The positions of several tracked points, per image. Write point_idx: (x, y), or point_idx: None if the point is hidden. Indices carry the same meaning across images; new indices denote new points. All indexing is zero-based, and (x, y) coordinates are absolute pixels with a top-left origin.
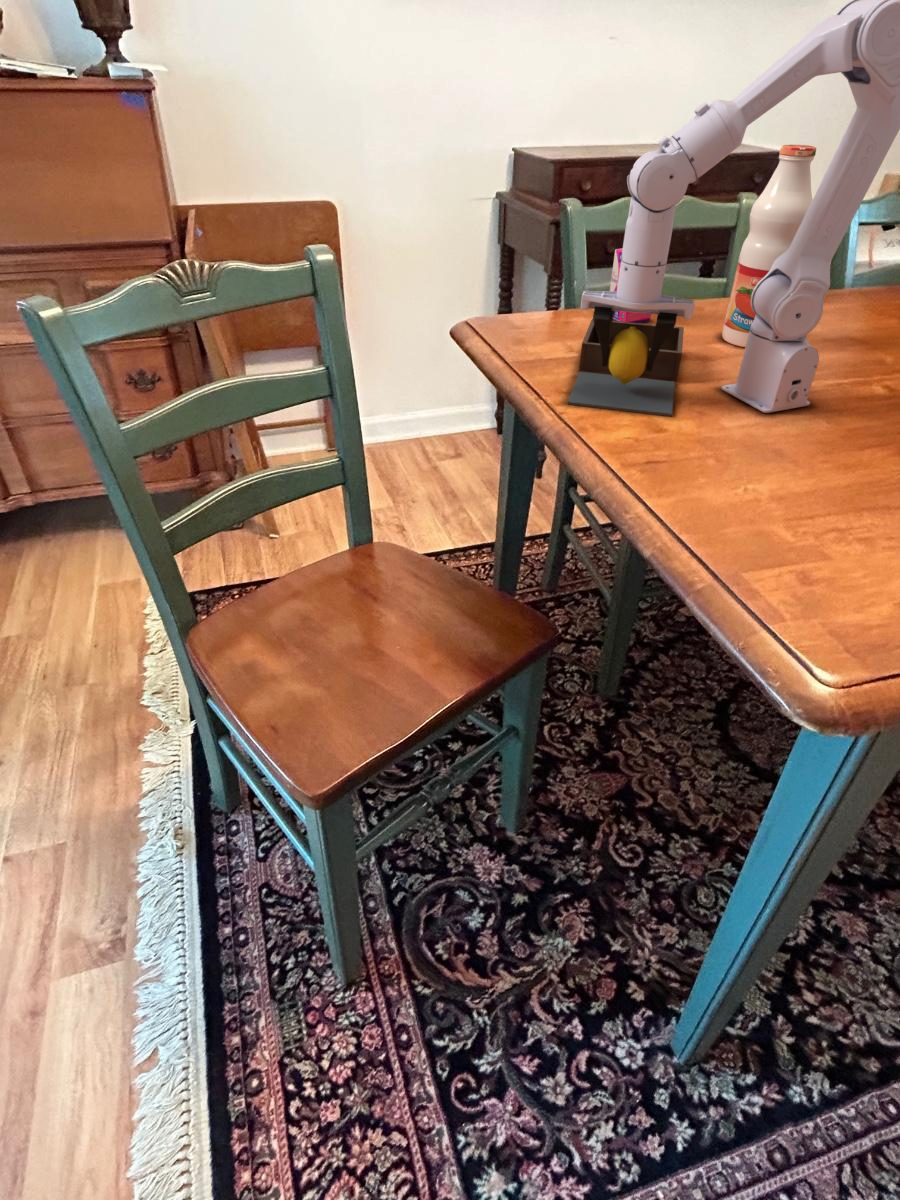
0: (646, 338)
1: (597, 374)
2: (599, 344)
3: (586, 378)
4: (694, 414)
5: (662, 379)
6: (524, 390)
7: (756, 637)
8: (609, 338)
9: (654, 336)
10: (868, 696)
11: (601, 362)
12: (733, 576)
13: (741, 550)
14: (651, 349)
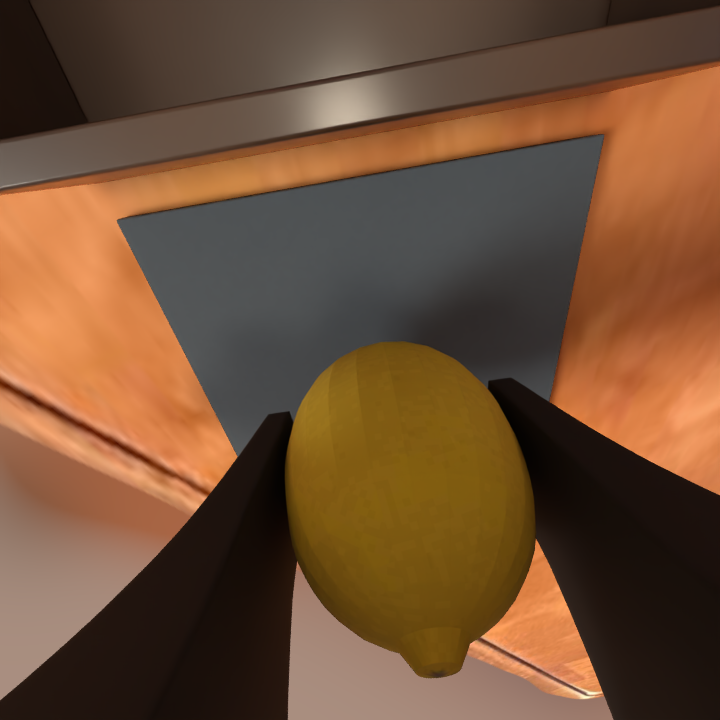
0: (531, 561)
1: (214, 220)
2: (81, 166)
3: (198, 294)
4: (608, 396)
5: (540, 103)
6: (83, 448)
7: (557, 690)
8: (268, 560)
9: (596, 662)
10: None
11: (184, 165)
12: (556, 667)
13: (573, 649)
14: (542, 548)
